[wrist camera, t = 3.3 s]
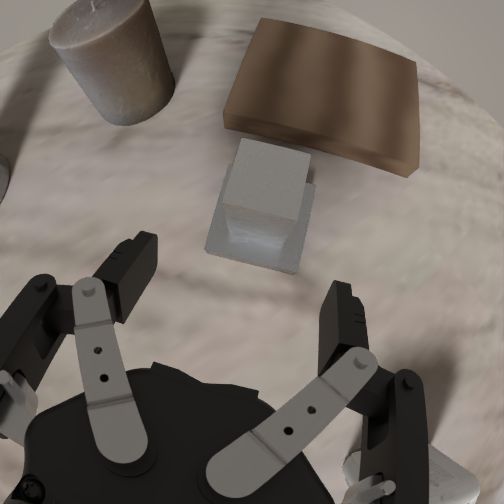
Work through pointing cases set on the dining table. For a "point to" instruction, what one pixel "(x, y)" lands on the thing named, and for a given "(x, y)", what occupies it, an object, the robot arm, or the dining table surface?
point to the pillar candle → (115, 57)
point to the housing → (263, 207)
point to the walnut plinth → (328, 96)
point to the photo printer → (433, 478)
